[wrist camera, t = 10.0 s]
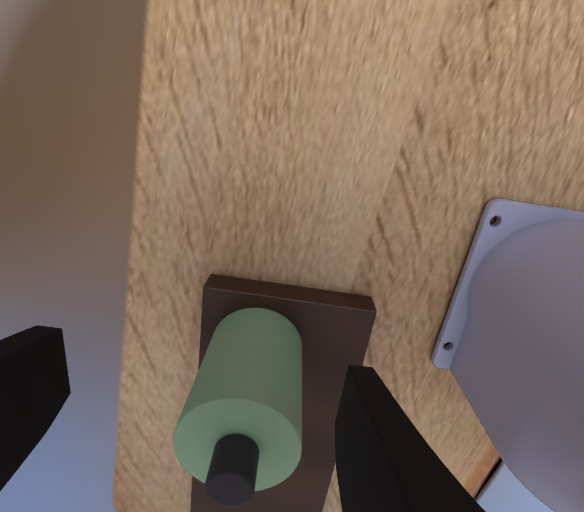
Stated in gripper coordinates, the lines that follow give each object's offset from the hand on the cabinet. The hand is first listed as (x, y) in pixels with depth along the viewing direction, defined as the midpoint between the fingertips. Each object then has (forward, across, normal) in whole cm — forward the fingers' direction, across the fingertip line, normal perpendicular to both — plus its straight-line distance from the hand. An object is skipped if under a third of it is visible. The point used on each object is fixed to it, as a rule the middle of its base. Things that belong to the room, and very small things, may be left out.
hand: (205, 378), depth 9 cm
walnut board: (+9, -2, +12) cm, 15 cm away
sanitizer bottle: (+8, -1, +5) cm, 9 cm away
